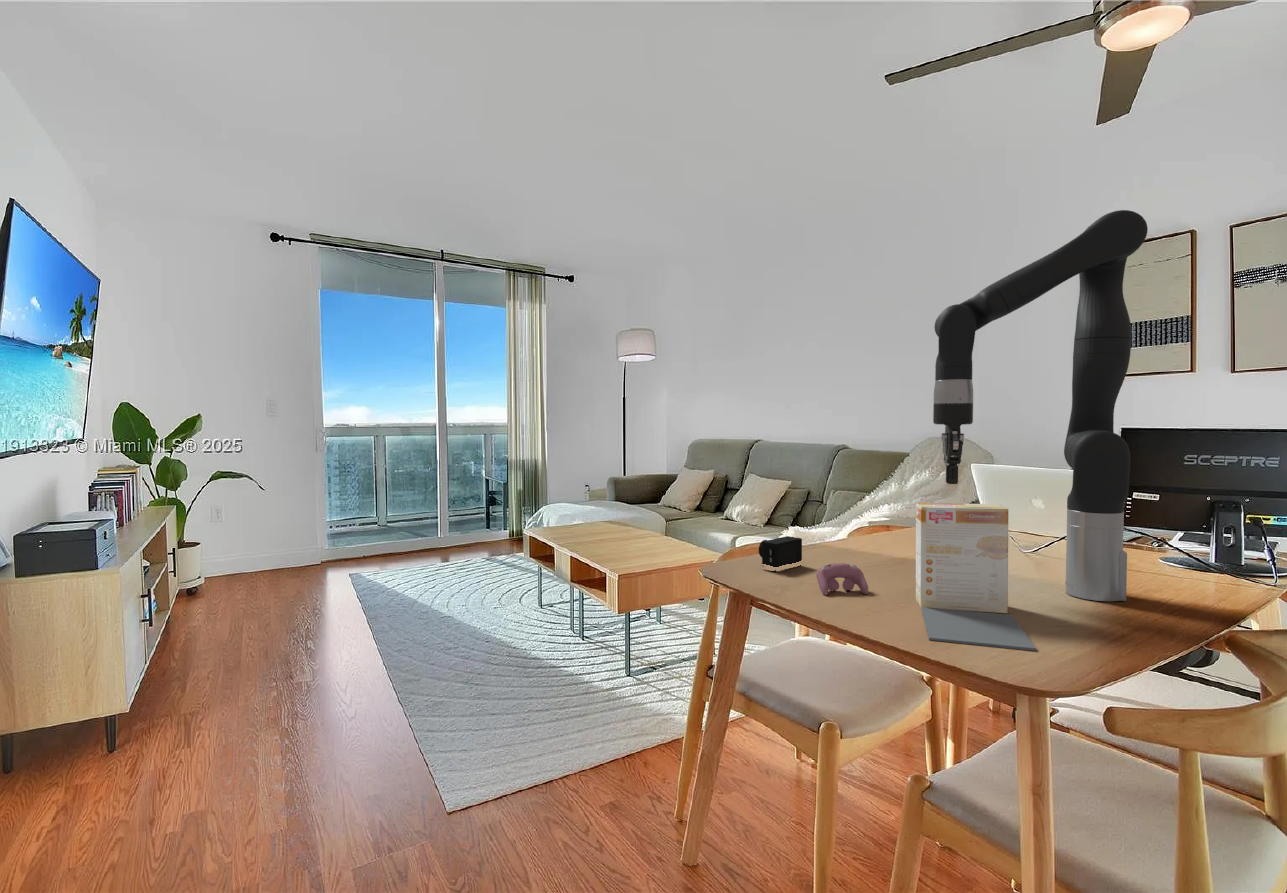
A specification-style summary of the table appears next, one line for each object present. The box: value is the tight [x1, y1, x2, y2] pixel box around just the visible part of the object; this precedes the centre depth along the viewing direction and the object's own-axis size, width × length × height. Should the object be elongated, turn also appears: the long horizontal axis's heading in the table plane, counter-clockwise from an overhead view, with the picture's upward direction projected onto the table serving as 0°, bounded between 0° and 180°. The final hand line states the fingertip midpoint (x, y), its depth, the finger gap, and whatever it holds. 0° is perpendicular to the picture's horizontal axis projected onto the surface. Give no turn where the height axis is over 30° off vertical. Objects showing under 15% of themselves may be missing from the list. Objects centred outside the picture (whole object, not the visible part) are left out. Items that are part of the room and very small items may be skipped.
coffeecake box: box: [915, 502, 1009, 615], centre depth 119 cm, size 15×7×20 cm, turn 74°
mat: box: [920, 607, 1037, 652], centre depth 107 cm, size 15×18×1 cm
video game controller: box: [815, 562, 869, 596], centre depth 130 cm, size 10×5×7 cm, turn 92°
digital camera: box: [758, 535, 803, 567], centre depth 152 cm, size 10×5×7 cm, turn 131°
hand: (951, 483), depth 132 cm, fingers closed
